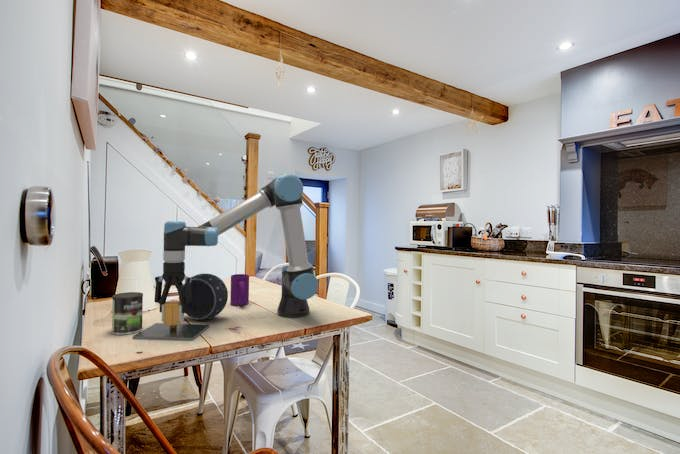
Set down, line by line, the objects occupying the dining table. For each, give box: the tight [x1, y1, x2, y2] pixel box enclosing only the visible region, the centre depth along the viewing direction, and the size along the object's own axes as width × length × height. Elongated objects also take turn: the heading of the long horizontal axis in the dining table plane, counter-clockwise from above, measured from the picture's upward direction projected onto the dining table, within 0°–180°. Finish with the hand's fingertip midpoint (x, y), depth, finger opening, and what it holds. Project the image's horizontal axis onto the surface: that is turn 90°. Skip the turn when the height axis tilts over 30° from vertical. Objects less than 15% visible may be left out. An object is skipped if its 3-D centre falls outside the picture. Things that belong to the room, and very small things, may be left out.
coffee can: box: [111, 291, 144, 336], centre depth 137 cm, size 10×10×14 cm
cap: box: [163, 299, 183, 325], centre depth 135 cm, size 6×6×8 cm
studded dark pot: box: [178, 273, 229, 322], centre depth 154 cm, size 11×20×20 cm, turn 78°
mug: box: [230, 273, 250, 307], centre depth 179 cm, size 9×16×15 cm, turn 24°
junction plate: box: [132, 322, 210, 342], centre depth 136 cm, size 22×16×7 cm
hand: (172, 320), depth 136 cm, fingers closed on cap, 6 cm apart
